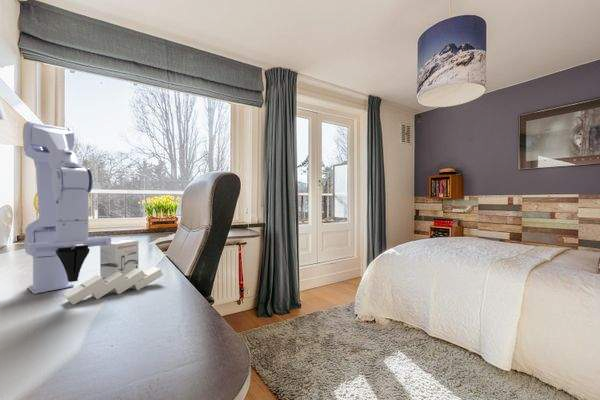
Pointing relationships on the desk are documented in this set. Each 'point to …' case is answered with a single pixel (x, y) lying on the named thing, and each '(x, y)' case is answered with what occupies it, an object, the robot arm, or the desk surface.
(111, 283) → the domino
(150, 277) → the domino
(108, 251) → the ink box
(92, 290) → the domino
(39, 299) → the desk surface
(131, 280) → the domino
